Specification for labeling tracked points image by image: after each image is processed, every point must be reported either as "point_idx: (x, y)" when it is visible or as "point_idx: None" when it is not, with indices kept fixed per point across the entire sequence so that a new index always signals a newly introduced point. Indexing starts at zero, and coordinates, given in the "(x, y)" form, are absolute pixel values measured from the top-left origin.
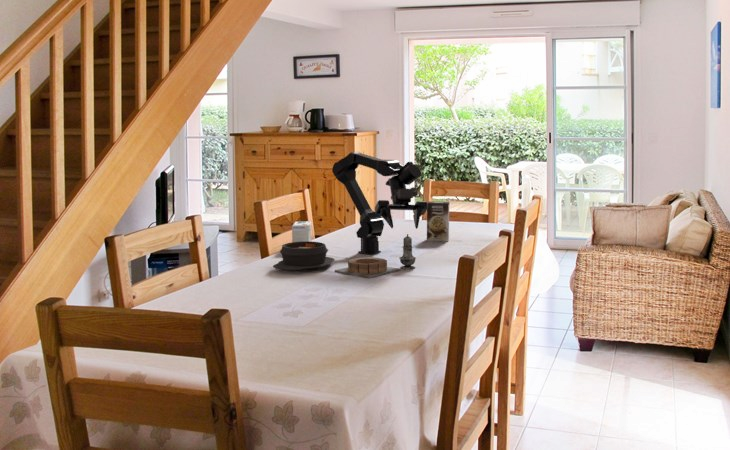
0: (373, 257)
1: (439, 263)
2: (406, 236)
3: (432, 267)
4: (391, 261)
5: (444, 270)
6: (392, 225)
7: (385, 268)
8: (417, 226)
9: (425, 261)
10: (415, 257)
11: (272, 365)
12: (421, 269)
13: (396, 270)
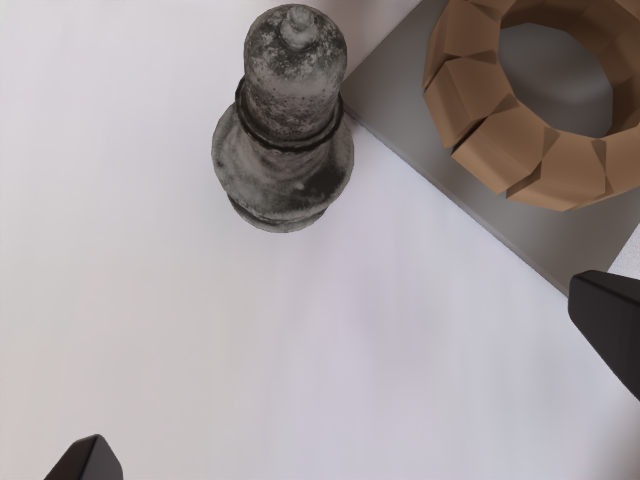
0: (558, 182)
1: (3, 351)
2: (313, 28)
3: (90, 191)
4: (407, 444)
5: (15, 83)
6: (605, 280)
7: (434, 30)
8: (76, 448)
9: (116, 445)
10: (215, 159)
11: None
12: (183, 128)
13: (358, 67)
